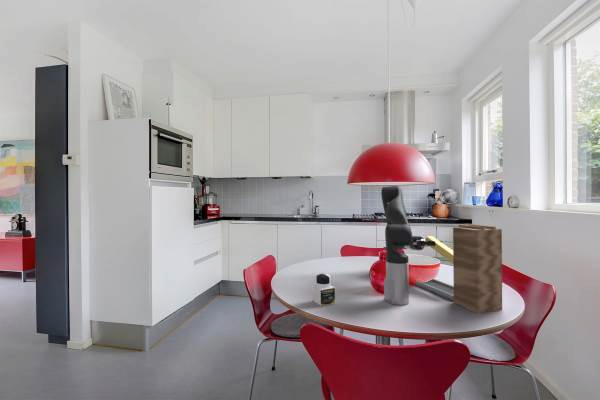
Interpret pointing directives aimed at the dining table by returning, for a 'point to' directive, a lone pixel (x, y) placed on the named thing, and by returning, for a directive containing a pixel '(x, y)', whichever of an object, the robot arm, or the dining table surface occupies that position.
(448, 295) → the tray
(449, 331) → the dining table surface
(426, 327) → the dining table surface
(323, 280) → the medicine bottle
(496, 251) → the stand
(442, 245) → the bar
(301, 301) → the dining table surface
